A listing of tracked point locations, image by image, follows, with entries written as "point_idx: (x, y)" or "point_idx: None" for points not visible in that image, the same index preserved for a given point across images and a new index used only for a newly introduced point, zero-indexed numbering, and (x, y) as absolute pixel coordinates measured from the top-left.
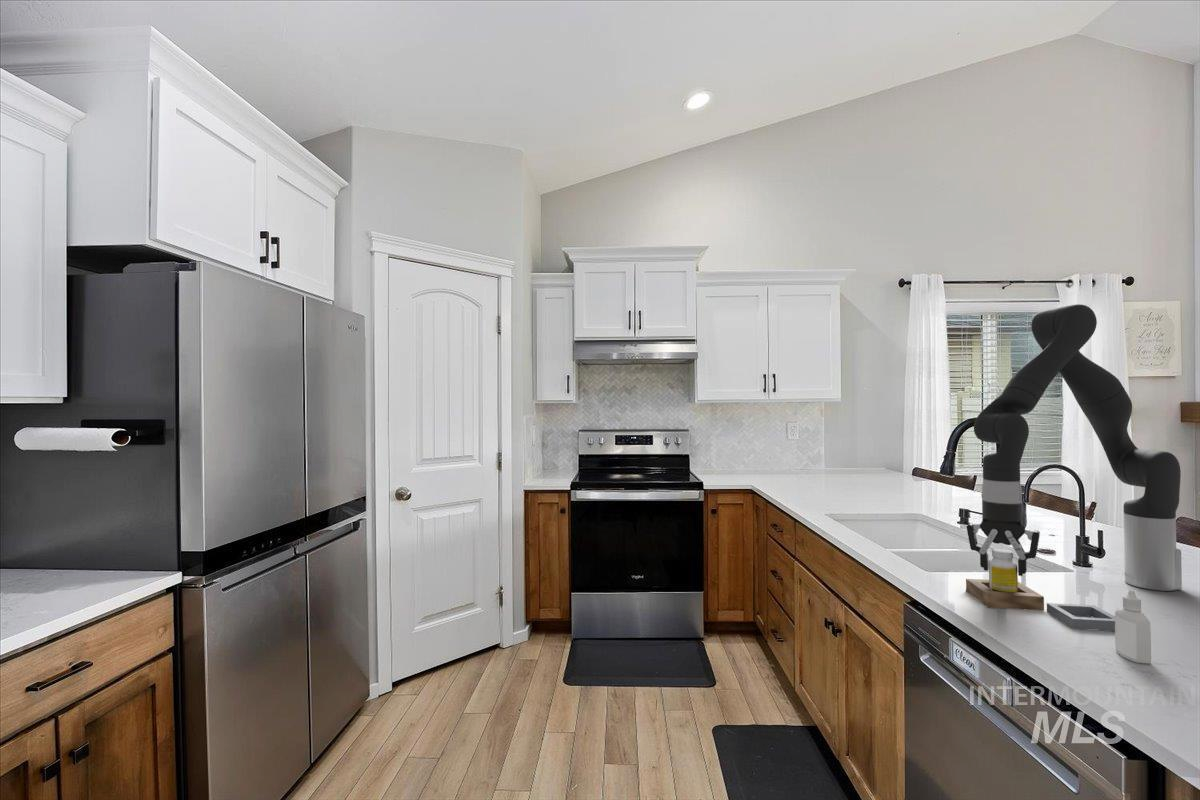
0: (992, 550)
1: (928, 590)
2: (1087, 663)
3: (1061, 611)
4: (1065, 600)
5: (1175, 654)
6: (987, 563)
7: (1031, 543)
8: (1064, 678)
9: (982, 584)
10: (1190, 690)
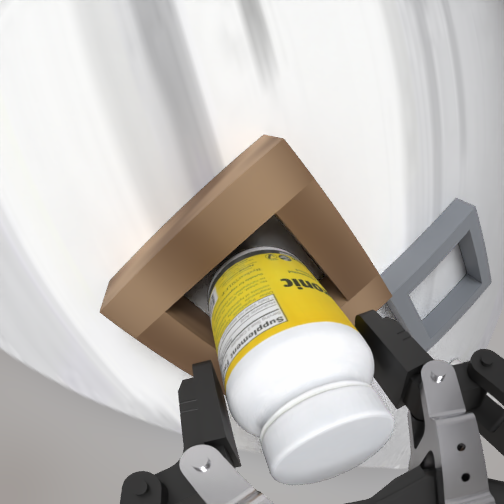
0: (279, 481)
1: (49, 364)
2: (399, 429)
3: (412, 332)
4: (401, 96)
5: (495, 312)
6: (225, 412)
7: (501, 449)
8: (371, 465)
9: (188, 335)
10: None
